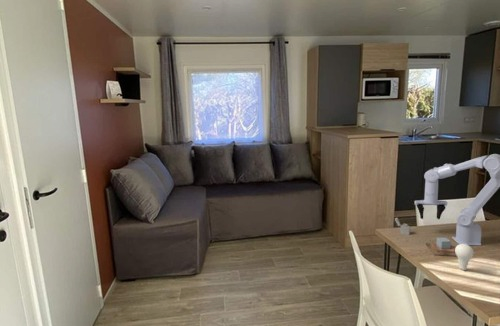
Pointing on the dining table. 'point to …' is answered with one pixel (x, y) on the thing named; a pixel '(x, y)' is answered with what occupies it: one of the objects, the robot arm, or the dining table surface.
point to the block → (443, 243)
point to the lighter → (403, 227)
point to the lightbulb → (463, 255)
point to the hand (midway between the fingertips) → (429, 218)
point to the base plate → (441, 250)
